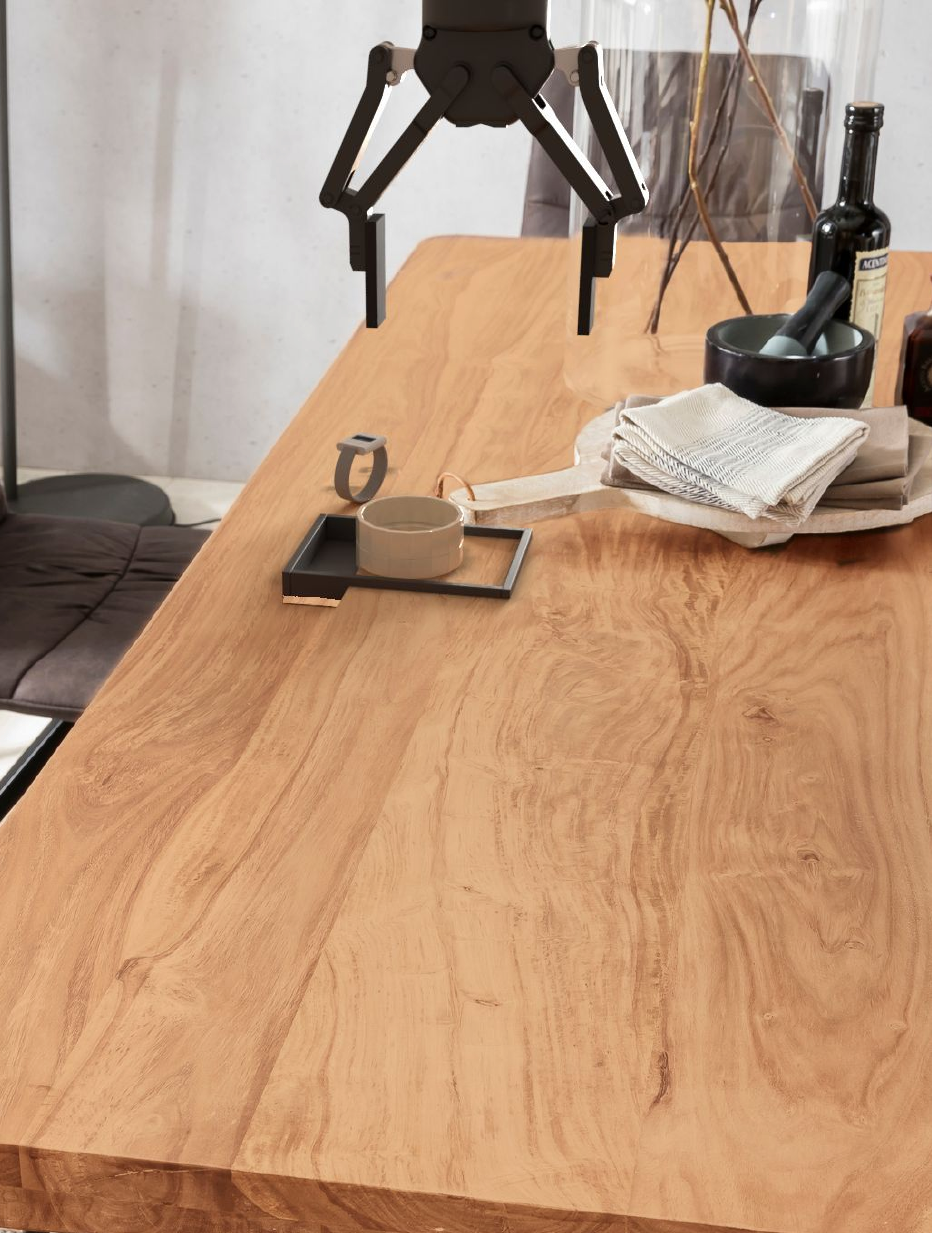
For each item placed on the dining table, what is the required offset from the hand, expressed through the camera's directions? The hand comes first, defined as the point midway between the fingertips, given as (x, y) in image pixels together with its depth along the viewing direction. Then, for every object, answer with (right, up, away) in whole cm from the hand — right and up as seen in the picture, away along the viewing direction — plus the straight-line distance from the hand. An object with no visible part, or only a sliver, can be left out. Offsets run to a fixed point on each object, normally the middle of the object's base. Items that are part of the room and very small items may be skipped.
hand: (479, 327), depth 111 cm
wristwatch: (-7, -5, +29) cm, 30 cm away
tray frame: (-4, -14, +15) cm, 20 cm away
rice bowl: (-4, -13, +14) cm, 20 cm away
